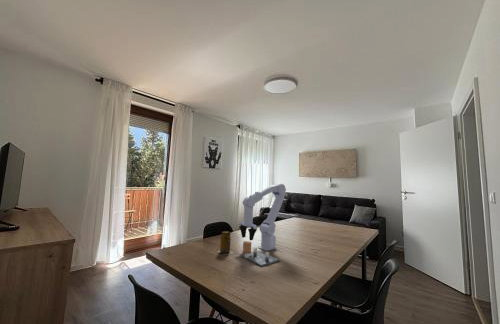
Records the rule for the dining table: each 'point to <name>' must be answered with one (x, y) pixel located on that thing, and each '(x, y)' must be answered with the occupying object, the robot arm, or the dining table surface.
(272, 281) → the dining table surface
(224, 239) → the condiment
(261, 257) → the hub plate
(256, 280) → the dining table surface
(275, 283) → the dining table surface
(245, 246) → the knob
